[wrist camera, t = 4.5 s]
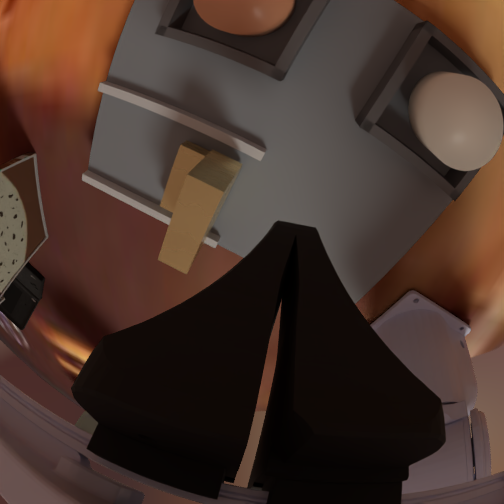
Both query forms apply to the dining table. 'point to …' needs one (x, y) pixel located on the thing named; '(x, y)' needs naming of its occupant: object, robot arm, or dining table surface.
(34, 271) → the handheld gaming console
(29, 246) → the food container
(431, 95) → the cream button
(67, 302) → the dining table surface
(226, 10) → the terracotta button
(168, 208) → the tall mustard sponge block
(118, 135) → the control panel
